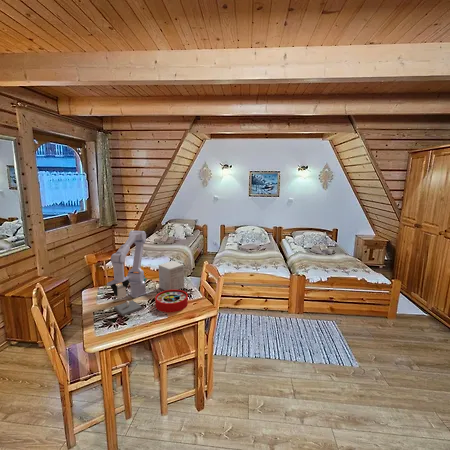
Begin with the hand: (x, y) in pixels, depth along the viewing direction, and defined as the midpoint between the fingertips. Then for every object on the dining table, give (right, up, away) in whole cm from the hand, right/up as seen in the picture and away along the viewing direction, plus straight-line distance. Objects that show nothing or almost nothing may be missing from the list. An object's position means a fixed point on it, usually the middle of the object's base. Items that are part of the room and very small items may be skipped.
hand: (120, 293), depth 158 cm
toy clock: (+30, -9, +6) cm, 32 cm away
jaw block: (0, -2, 0) cm, 2 cm away
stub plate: (+5, -9, 0) cm, 10 cm away
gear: (0, -3, +37) cm, 37 cm away
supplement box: (+25, -4, +31) cm, 40 cm away
